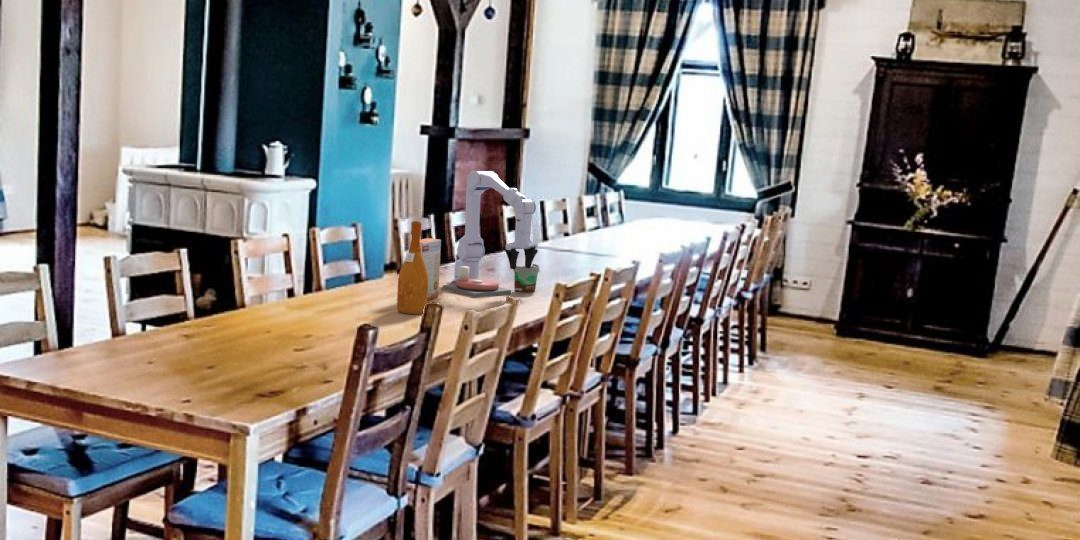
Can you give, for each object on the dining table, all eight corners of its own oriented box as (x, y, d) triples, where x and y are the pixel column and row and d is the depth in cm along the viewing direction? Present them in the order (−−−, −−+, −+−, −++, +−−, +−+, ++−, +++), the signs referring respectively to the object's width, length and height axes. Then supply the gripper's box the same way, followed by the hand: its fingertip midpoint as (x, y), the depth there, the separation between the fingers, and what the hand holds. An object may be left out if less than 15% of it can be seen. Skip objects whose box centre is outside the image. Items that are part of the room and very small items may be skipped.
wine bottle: (392, 309, 360) (397, 219, 356) (421, 309, 364) (426, 219, 360) (401, 315, 352) (406, 222, 347) (430, 315, 356) (435, 223, 351)
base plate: (442, 289, 406) (442, 285, 405) (478, 286, 418) (479, 282, 418) (474, 297, 393) (474, 293, 393) (510, 294, 406) (511, 290, 405)
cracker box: (423, 295, 390) (427, 237, 387) (438, 297, 388) (442, 239, 385) (404, 300, 377) (408, 240, 374) (420, 303, 375) (423, 242, 372)
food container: (524, 294, 407) (526, 268, 405) (511, 292, 410) (513, 265, 409) (544, 291, 416) (546, 265, 415) (531, 289, 420) (533, 263, 419)
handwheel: (506, 286, 409) (507, 269, 408) (485, 291, 395) (487, 274, 394) (468, 281, 416) (469, 264, 415) (447, 285, 401) (448, 268, 400)
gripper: (516, 233, 393) (513, 271, 395) (544, 232, 403) (541, 269, 405) (502, 231, 398) (500, 268, 400) (531, 230, 408) (528, 266, 410)
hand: (520, 268), depth 403 cm, fingers open, 7 cm apart
